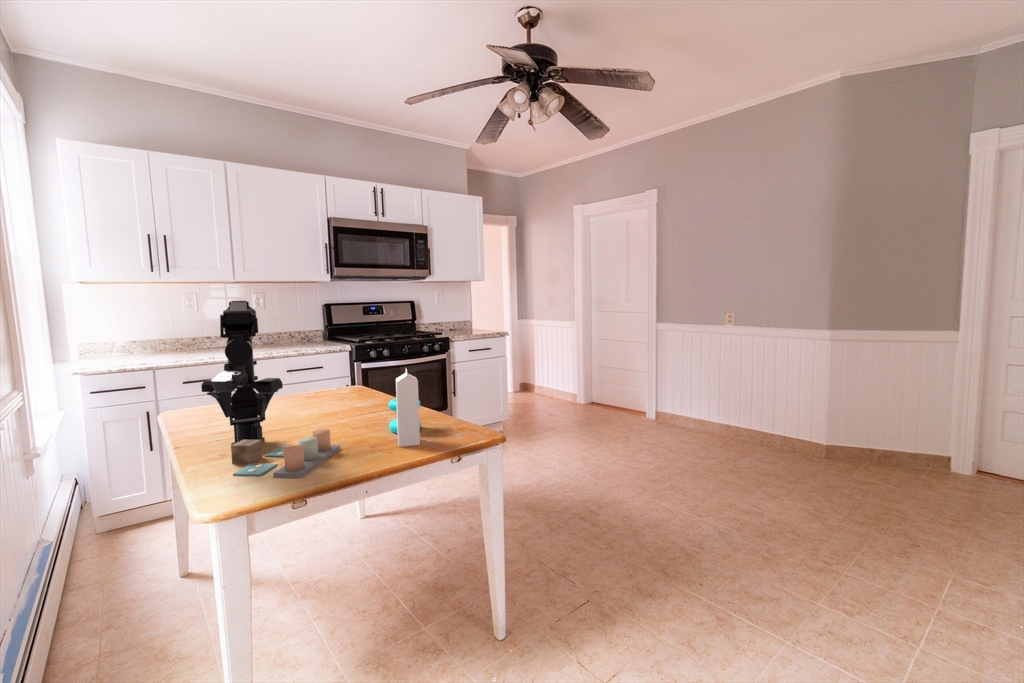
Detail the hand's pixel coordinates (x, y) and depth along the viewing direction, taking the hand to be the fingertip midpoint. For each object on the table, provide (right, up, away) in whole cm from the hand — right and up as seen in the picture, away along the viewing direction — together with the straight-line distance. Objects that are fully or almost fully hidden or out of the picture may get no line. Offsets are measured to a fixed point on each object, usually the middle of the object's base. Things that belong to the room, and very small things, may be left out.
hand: (244, 417), depth 122 cm
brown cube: (0, -12, +1) cm, 12 cm away
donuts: (+36, -9, +28) cm, 46 cm away
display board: (+17, -12, 0) cm, 21 cm away
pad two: (+6, -12, -6) cm, 15 cm away
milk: (+40, -10, +15) cm, 44 cm away
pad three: (+7, -11, +7) cm, 15 cm away
